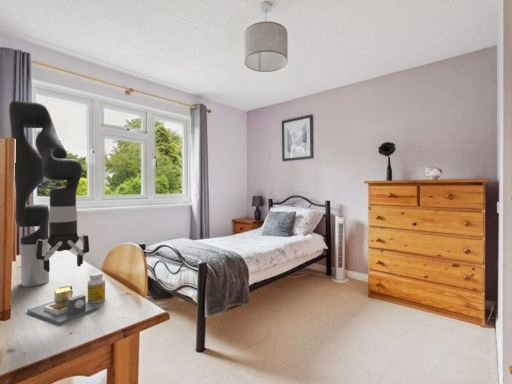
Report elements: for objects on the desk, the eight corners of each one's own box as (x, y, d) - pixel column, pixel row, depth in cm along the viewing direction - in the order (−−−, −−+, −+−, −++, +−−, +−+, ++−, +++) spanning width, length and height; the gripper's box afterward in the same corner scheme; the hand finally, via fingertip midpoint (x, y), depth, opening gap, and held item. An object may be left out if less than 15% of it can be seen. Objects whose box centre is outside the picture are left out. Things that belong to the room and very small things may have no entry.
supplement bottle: (85, 304, 95) (85, 276, 95) (90, 298, 101) (90, 272, 100) (102, 302, 97) (102, 275, 97) (106, 296, 102) (106, 270, 102)
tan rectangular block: (56, 312, 87) (56, 293, 87) (54, 307, 90) (54, 289, 90) (71, 308, 90) (71, 290, 90) (69, 304, 93) (69, 286, 93)
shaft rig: (27, 312, 89) (27, 295, 89) (66, 299, 100) (66, 283, 100) (59, 325, 81) (59, 305, 81) (98, 309, 92) (98, 291, 92)
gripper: (37, 223, 82) (38, 276, 83) (91, 219, 92) (91, 266, 93) (34, 220, 87) (34, 270, 88) (85, 216, 97) (85, 261, 98)
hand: (63, 268), depth 90 cm, fingers open, 8 cm apart
